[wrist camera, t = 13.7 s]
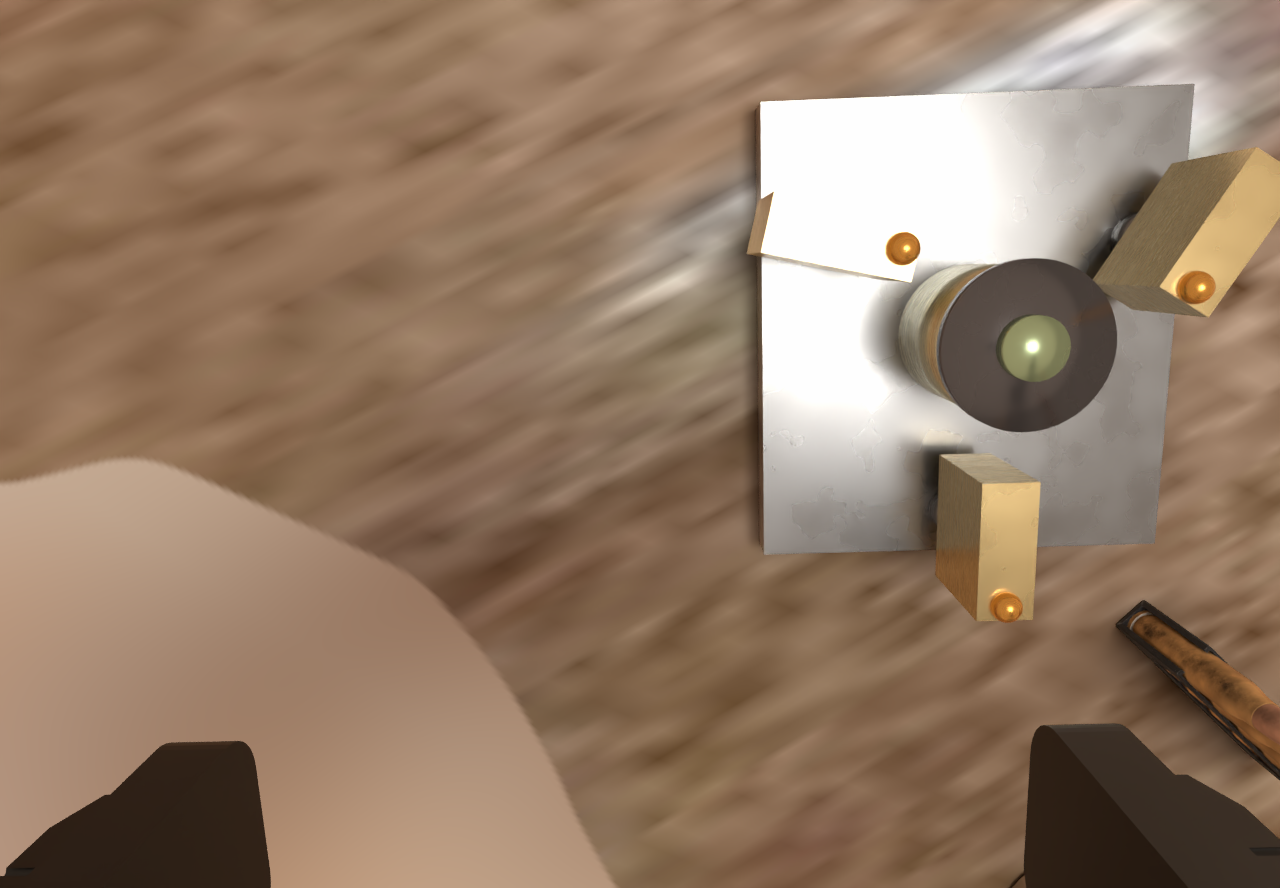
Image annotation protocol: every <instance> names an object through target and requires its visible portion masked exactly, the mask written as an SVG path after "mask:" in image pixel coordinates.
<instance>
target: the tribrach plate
mask: <svg viewBox="0 0 1280 888" xmlns="http://www.w3.org/2000/svg"><path fill="white" fill-rule="evenodd" d="M1193 95H1194V84H1181V85H1157V86H1133V87H1109V88H1085V89H1060V90H1036V91H1012V92H988V93H964V94H940V95H915V96H891V97H867V98H843V99H819V100H795V101H771V102H760V104H759V105H758V107H757V108H756V110H755V129H756V208H757V203H758V201H759V200H760V199H762V198H764V197H765V196H767V195H768V194H770V193H772V192H773V191H778V192H783V193H788V194H793V195H798V196H803V197H808V198H813V199H818V200H822V201H827V202H832V203H837V204H842V205H847V206H852V207H857V208H862V209H867V210H872V211H877V212H882V213H887V214H892V215H897V216H902V217H907V218H912V219H917V220H922V221H926V225H925V229H924V233H923V237H922V241H921V250H920V254H919V256H918V258H917V261H916V264H915V268H914V272H913V276H912V280H911V282H901V281H888V280H876V279H871V278H866V277H861V276H856V275H851V274H846V273H841V272H836V271H831V270H826V269H820V268H815V267H806V266H803V265H800V264H795V263H790V262H785V261H780V260H775V259H770V258H765V257H760V256H757V353H758V465H759V542H760V545H761V547H762V550H763V553H764V554H799V553H835V552H870V551H905V550H936V543H937V525H936V524H935V523H934V522H933V520H932V519H931V516H930V512H929V506H930V502H931V499H932V497H933V496H934V494H935V493H936V492H937V491H938V484H939V455H945V454H978V453H991V454H992V455H994V456H996V457H998V458H999V459H1001V460H1003V461H1005V462H1006V463H1008V464H1010V465H1012V466H1013V467H1015V468H1017V469H1019V470H1020V471H1022V472H1024V473H1026V474H1027V475H1029V476H1031V477H1033V478H1034V479H1036V480H1038V481H1040V482H1041V485H1040V502H1039V519H1038V536H1037V547H1047V546H1082V545H1117V544H1153V543H1155V533H1156V522H1157V510H1158V499H1159V487H1160V476H1161V464H1162V453H1163V441H1164V430H1165V418H1166V406H1167V395H1168V383H1169V372H1170V360H1171V349H1172V337H1173V326H1174V314H1170V313H1160V312H1150V311H1140V310H1132V309H1131V308H1129V307H1127V306H1126V305H1124V304H1123V303H1121V302H1119V301H1118V300H1116V299H1115V298H1113V297H1111V296H1110V295H1108V294H1107V293H1105V292H1103V291H1102V290H1101V288H1100V287H1099V286H1098V285H1097V284H1096V282H1095V281H1093V279H1094V277H1095V276H1096V274H1097V273H1098V271H1099V270H1100V268H1101V267H1102V265H1103V264H1104V262H1105V261H1106V259H1107V258H1108V256H1109V255H1110V254H1111V252H1112V248H1111V234H1112V231H1113V229H1114V227H1115V226H1116V224H1117V223H1118V222H1119V221H1120V220H1121V219H1122V218H1123V217H1125V216H1127V215H1129V214H1132V213H1136V212H1139V211H1140V209H1141V208H1142V206H1143V205H1144V203H1145V202H1146V200H1147V199H1148V198H1149V196H1150V195H1151V193H1152V192H1153V190H1154V189H1155V187H1156V186H1157V184H1158V183H1159V181H1160V180H1161V178H1162V177H1163V175H1164V174H1165V172H1166V171H1167V170H1168V168H1169V167H1170V165H1171V164H1172V163H1176V162H1182V161H1187V160H1188V153H1189V141H1190V130H1191V118H1192V107H1193Z"/></svg>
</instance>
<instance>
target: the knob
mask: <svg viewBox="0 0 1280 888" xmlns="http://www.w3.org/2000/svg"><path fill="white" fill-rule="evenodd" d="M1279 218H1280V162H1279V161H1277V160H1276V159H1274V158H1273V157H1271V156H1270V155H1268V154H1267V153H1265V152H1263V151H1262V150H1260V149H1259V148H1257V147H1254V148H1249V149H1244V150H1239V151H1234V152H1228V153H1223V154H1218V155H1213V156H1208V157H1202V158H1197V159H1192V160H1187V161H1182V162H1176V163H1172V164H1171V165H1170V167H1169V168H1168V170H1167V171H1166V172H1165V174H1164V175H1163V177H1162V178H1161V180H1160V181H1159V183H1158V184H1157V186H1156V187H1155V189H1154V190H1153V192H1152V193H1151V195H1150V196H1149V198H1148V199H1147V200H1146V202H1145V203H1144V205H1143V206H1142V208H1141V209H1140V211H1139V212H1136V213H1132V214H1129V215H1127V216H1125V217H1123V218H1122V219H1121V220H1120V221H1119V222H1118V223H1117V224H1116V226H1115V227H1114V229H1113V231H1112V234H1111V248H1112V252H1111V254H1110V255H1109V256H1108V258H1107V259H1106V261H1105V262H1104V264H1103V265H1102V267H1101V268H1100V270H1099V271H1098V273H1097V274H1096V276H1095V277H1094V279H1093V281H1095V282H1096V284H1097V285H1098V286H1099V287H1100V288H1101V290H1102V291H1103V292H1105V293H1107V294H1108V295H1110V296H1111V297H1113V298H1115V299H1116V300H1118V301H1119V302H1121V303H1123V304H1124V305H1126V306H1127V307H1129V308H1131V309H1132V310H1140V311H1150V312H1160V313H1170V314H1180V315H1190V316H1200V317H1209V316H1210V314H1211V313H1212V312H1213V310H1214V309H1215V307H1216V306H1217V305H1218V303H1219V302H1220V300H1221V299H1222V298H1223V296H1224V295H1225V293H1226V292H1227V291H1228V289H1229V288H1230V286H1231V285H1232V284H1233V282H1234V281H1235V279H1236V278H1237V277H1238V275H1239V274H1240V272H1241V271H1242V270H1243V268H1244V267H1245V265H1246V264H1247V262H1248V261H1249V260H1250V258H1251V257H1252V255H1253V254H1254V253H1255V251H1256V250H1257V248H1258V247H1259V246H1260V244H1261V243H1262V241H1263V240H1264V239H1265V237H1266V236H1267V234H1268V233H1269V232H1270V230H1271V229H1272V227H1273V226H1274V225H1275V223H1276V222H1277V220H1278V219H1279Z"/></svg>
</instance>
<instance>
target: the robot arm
mask: <svg viewBox="0 0 1280 888" xmlns="http://www.w3.org/2000/svg"><path fill="white" fill-rule="evenodd" d="M1024 874H1025V875H1024V876H1023V877H1022V878H1020V880H1019V881H1018V882H1017V883H1016V884H1015V885H1014V886H1013V888H1280V839H1278V838H1277V837H1276V836H1275V835H1274V834H1273V833H1272V832H1271V831H1270V830H1269V829H1268V828H1267V827H1266V826H1264V825H1263V824H1262V823H1261V822H1260V821H1259V820H1258V819H1257V818H1256V817H1255V816H1254V815H1253V814H1251V813H1250V812H1249V811H1248V810H1247V809H1246V808H1245V807H1243V806H1242V805H1240V804H1238V803H1236V802H1235V801H1233V800H1231V799H1229V798H1228V797H1226V796H1224V795H1222V794H1220V793H1219V792H1217V791H1215V790H1213V789H1212V788H1210V787H1208V786H1206V785H1204V784H1203V783H1201V782H1199V781H1197V780H1196V779H1194V778H1192V777H1190V776H1189V775H1174V774H1173V773H1172V772H1171V771H1170V770H1169V769H1168V768H1167V767H1166V766H1165V765H1164V764H1163V763H1162V762H1161V761H1160V760H1159V759H1158V758H1157V757H1156V756H1155V755H1154V754H1153V753H1152V752H1151V751H1150V750H1149V749H1148V748H1147V747H1146V746H1145V745H1144V744H1143V743H1142V742H1141V741H1140V740H1139V739H1138V738H1137V737H1136V736H1135V735H1134V734H1133V733H1132V732H1131V731H1130V730H1128V729H1127V728H1126V727H1125V726H1123V725H1121V724H1074V725H1043V726H1040V727H1039V728H1038V729H1037V730H1036V732H1035V734H1034V736H1033V739H1032V744H1031V754H1030V771H1029V787H1028V804H1027V820H1026V836H1025V853H1024ZM270 878H271V877H270V867H269V860H268V852H267V845H266V838H265V830H264V823H263V816H262V808H261V802H260V794H259V787H258V779H257V771H256V765H255V760H254V756H253V753H252V751H251V749H250V748H249V746H248V745H247V744H246V743H244V742H241V741H225V742H224V741H222V742H178V743H167V744H164V745H162V746H161V747H159V748H158V749H157V750H156V751H155V752H154V753H153V754H152V755H151V756H150V757H149V758H148V759H147V760H146V761H145V762H144V763H142V764H141V766H139V767H138V769H136V770H135V771H134V772H133V773H132V774H131V775H130V776H129V777H128V778H127V779H126V780H125V781H124V782H123V783H122V784H121V785H120V786H119V787H118V788H117V789H116V790H115V791H114V792H113V793H112V794H111V795H104V796H102V797H101V798H99V799H98V800H96V801H94V802H92V803H91V804H89V805H87V806H86V807H84V808H82V809H81V810H79V811H77V812H76V813H74V814H72V815H71V816H69V817H68V818H66V819H64V820H62V821H60V822H59V823H57V824H55V825H54V826H52V827H50V828H49V829H48V830H47V831H46V832H45V833H43V834H42V836H40V837H39V838H38V839H37V840H36V841H35V842H34V843H33V844H32V845H31V846H30V847H28V848H27V849H26V850H25V851H24V852H23V853H22V854H21V855H20V856H19V857H18V858H17V859H16V860H14V862H12V863H11V864H10V865H9V866H8V867H7V868H6V874H5V876H0V888H270V887H271V879H270Z"/></svg>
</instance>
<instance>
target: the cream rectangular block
mask: <svg viewBox="0 0 1280 888" xmlns="http://www.w3.org/2000/svg"><path fill="white" fill-rule="evenodd" d="M925 225H926V221H922V220H917V219H912V218H907V217H902V216H897V215H892V214H887V213H882V212H877V211H872V210H867V209H862V208H857V207H852V206H847V205H842V204H837V203H832V202H827V201H822V200H818V199H813V198H808V197H803V196H798V195H793V194H788V193H783V192H778V191H773V192H772V193H770V194H768V195H767V196H765V197H764V198H762V199H760V200H759V201H758V203H757V208H756V213H755V217H754V222H753V227H752V231H751V236H750V241H749V245H748V250H747V254H750V255H755V256H760V257H765V258H770V259H775V260H780V261H785V262H790V263H795V264H800V265H803V266H806V267H815V268H820V269H826V270H831V271H836V272H841V273H846V274H851V275H856V276H861V277H866V278H871V279H876V280H888V281H901V282H911V280H912V276H913V272H914V268H915V264H916V261H917V258H918V256H919V254H920V250H921V241H922V237H923V233H924V229H925Z"/></svg>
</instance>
